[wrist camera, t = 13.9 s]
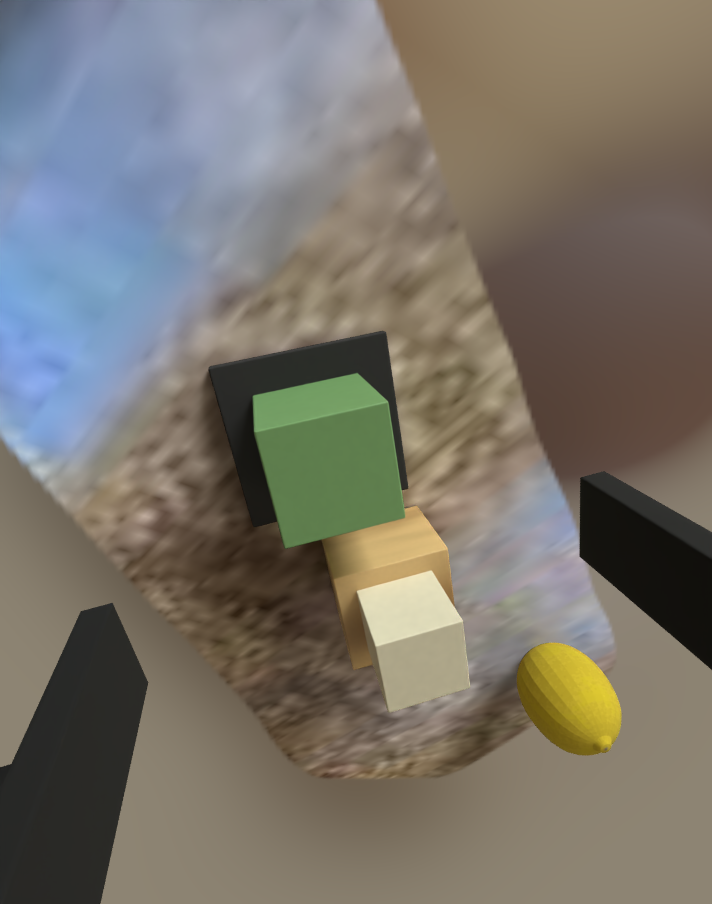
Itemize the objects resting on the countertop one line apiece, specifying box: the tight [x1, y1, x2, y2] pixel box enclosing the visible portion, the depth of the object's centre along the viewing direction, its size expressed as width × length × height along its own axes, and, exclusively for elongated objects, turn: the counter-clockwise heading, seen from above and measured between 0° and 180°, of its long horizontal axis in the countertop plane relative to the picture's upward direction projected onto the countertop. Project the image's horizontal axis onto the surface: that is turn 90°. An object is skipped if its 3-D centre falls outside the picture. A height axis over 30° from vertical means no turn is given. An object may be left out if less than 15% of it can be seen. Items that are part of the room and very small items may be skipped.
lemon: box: [517, 643, 621, 755], centre depth 32 cm, size 6×6×8 cm
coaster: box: [209, 331, 408, 527], centre depth 26 cm, size 9×9×1 cm
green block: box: [252, 373, 405, 549], centre depth 23 cm, size 6×6×6 cm
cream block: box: [357, 571, 470, 713], centre depth 24 cm, size 4×4×4 cm
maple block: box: [322, 506, 455, 670], centre depth 28 cm, size 6×6×5 cm
